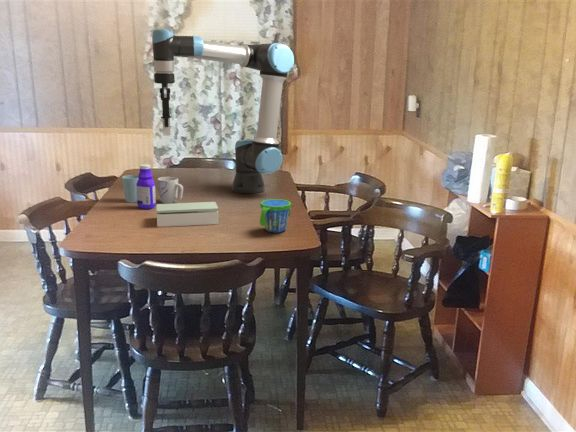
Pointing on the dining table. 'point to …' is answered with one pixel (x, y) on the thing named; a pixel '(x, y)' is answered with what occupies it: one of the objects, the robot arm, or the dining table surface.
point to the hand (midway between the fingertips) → (166, 135)
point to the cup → (130, 187)
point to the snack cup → (275, 214)
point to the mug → (169, 189)
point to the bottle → (146, 188)
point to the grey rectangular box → (187, 218)
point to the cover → (187, 207)
